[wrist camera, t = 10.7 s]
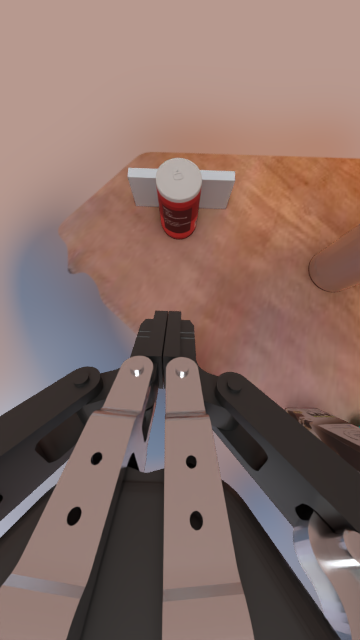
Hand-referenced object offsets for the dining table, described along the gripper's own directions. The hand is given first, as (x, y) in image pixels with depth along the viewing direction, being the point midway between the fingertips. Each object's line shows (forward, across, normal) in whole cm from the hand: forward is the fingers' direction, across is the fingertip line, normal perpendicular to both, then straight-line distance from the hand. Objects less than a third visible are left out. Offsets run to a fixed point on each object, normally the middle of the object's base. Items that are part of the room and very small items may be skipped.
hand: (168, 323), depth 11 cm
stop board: (+42, 0, -5) cm, 42 cm away
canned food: (+37, 0, 0) cm, 37 cm away
